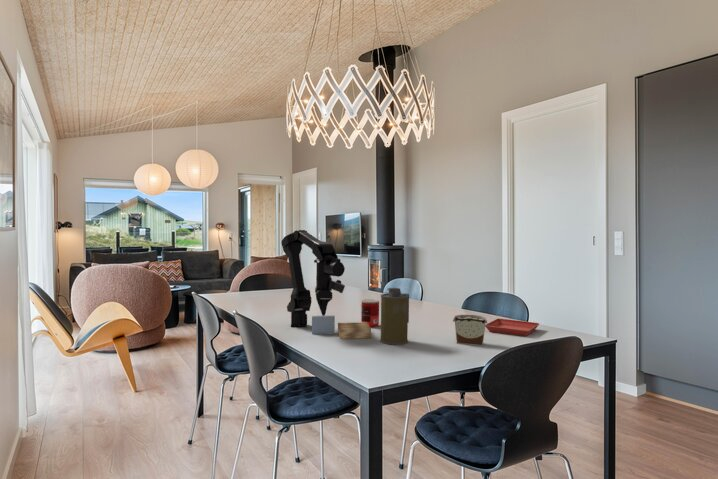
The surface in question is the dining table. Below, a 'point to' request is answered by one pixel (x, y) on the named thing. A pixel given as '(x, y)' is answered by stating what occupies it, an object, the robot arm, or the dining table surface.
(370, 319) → the canned food
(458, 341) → the food container
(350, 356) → the dining table surface
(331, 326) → the blue-grey flat block
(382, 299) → the canister
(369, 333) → the rack
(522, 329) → the plant saucer
